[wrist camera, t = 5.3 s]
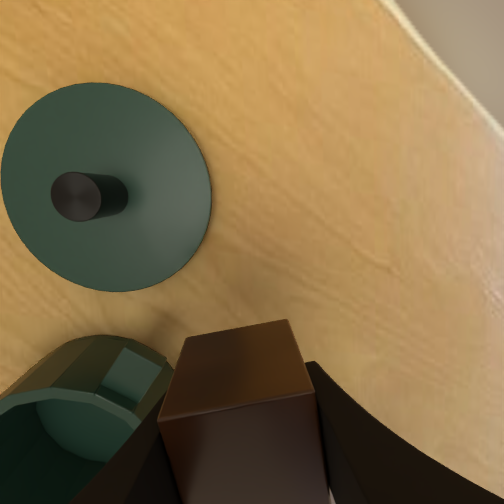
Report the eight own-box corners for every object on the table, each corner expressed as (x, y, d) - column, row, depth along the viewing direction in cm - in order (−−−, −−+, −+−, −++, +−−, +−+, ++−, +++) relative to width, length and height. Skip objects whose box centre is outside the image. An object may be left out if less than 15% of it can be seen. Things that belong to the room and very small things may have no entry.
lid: (249, 169, 18) (253, 163, 14) (152, 318, 20) (127, 355, 16) (71, 42, 16) (6, -15, 12) (-19, 221, 18) (-103, 231, 14)
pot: (232, 356, 21) (230, 414, 16) (122, 507, 24) (87, 602, 18) (93, 275, 19) (35, 309, 14) (-10, 448, 22) (-93, 535, 16)
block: (287, 317, 11) (315, 390, 7) (301, 404, 12) (333, 512, 8) (185, 336, 11) (155, 420, 7) (207, 422, 12) (191, 539, 8)
